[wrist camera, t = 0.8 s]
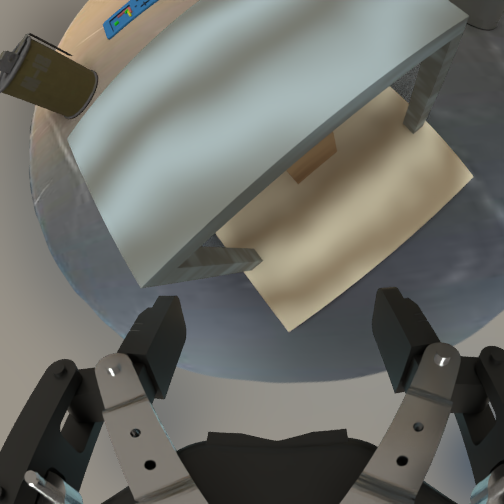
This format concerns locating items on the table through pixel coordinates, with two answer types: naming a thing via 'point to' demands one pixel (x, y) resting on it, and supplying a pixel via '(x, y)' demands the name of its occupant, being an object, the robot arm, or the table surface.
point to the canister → (46, 78)
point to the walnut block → (313, 159)
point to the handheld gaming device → (125, 16)
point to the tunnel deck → (345, 209)
